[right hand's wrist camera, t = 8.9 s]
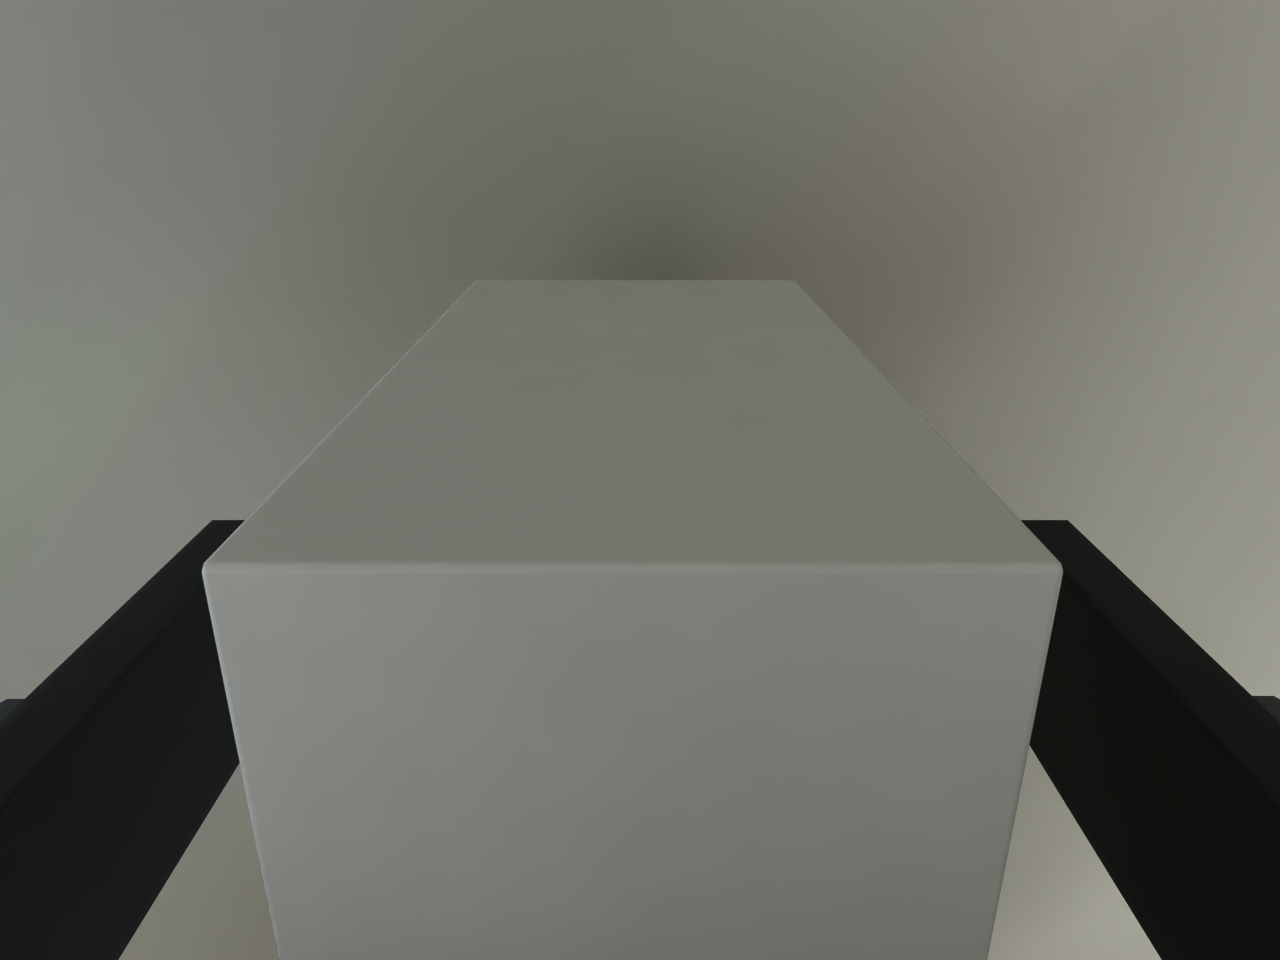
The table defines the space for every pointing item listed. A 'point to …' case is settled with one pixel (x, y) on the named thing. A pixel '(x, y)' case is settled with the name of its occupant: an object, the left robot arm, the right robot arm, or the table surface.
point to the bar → (632, 646)
